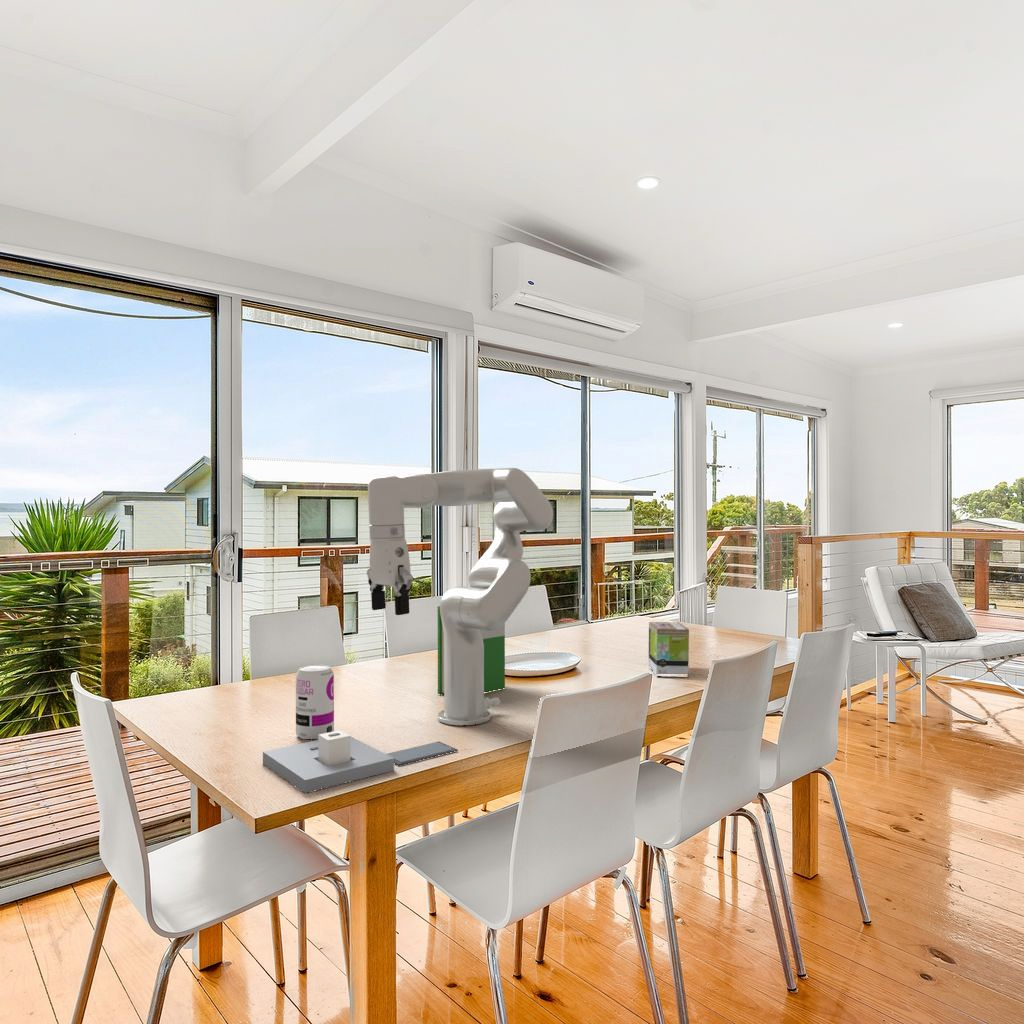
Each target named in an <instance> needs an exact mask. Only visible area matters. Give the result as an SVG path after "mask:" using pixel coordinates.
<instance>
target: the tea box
mask: <svg viewBox="0 0 1024 1024" xmlns="http://www.w3.org/2000/svg"><path fill="white" fill-rule="evenodd" d="M689 651H690V629H689V628H688V627H686V626H685V625H683V624H682V623H680V622H679V621H678V622H676V621H649V622H648V659H647V660H648V667H649V666H650V667H651V669H652V670H653V671H654V672H655V673H656V675H657V674H688V675H689V669H690V667H689V659H690V658H689V653H690V652H689ZM651 669H650V670H651ZM652 670H651V671H652ZM653 671H652V672H653ZM656 675H655V676H656Z"/></svg>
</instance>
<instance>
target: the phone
mask: <svg viewBox="0 0 1024 1024" xmlns="http://www.w3.org/2000/svg"><path fill="white" fill-rule="evenodd" d="M454 751H459V749H457V748H455V747H452V746H451V745H448V744H446V743H443V742H441V741H434V742H431V743H426V744H423V745H418V746H414V747H410V748H405V749H402V750H396V751H393V752H389V753H386V754H387V755H389V756H391V757H393V758H394V763H395V764H396V766H397V765H398V766H397V767H401V766H400V765H403V766H405V765H404V764H407V765H409V764H408V763H411V762H415V763H417V762H416V761H419V760H423V759H427V758H431V757H435V756H438V755H442V754H446V753H450V752H454ZM454 753H455V752H454ZM450 754H451V753H450ZM446 755H447V754H446ZM442 756H443V755H442ZM438 757H439V756H438ZM435 758H436V757H435ZM431 759H432V758H431ZM427 760H428V759H427ZM423 761H424V760H423ZM419 762H420V761H419ZM395 764H394V765H395ZM411 764H412V763H411Z"/></svg>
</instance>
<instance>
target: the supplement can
mask: <svg viewBox="0 0 1024 1024" xmlns="http://www.w3.org/2000/svg"><path fill="white" fill-rule="evenodd" d="M334 731H335V673H334V672H333V670H332V666H331V665H327V664H311V665H310V664H309V665H308V664H307V665H302V666H300V667H299V668H298V671H297V672H296V674H295V734H296V736H297V737H298V738H299V737H300V738H299V739H301V738H302V739H301V740H305V739H311V740H310V741H313V740H312V739H317V740H318V735H319V734H324V733H329V732H334Z"/></svg>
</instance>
